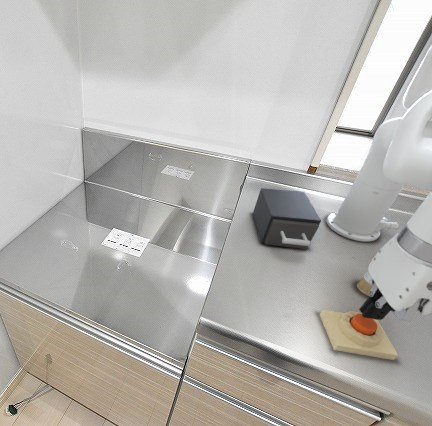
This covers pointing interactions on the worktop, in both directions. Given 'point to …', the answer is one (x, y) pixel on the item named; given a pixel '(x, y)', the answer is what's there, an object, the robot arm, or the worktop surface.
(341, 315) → the control pad
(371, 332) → the button
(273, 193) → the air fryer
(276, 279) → the worktop surface
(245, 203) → the worktop surface
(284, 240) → the drawer
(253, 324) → the worktop surface
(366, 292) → the sprinkles bottle
